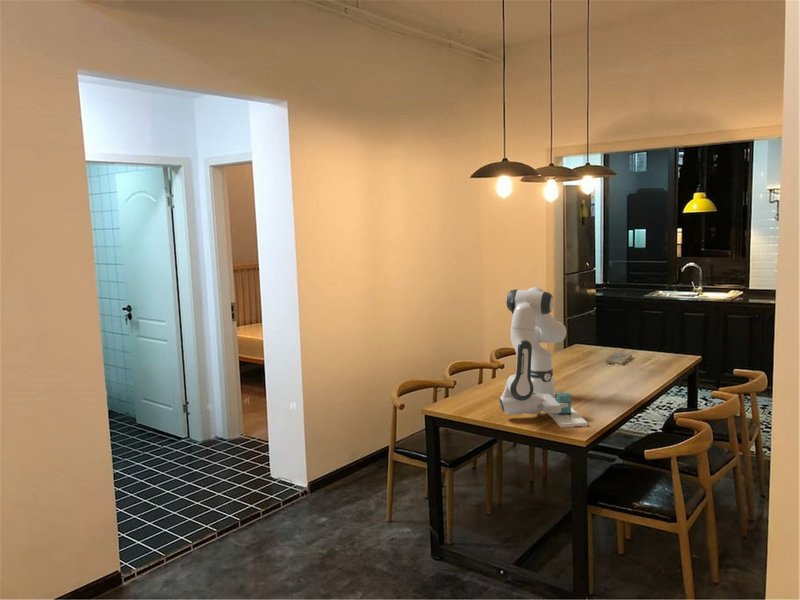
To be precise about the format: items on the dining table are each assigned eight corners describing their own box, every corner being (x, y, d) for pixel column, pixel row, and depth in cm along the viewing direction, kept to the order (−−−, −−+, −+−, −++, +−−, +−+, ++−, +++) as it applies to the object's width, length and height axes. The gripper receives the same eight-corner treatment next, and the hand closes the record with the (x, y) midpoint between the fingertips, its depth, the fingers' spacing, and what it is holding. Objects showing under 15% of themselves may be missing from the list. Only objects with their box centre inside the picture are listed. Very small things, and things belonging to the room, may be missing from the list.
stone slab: (633, 352, 414) (623, 359, 389) (633, 358, 415) (623, 366, 389) (614, 350, 421) (603, 358, 395) (614, 357, 421) (603, 364, 396)
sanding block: (556, 411, 294) (556, 392, 293) (568, 411, 294) (568, 392, 293) (559, 415, 288) (559, 395, 287) (571, 414, 289) (571, 395, 288)
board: (546, 411, 300) (546, 408, 300) (571, 410, 300) (571, 407, 300) (560, 427, 276) (560, 424, 276) (587, 426, 276) (587, 422, 276)
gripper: (541, 403, 280) (572, 402, 280) (530, 391, 300) (559, 390, 300) (541, 417, 280) (572, 416, 281) (530, 404, 301) (559, 403, 301)
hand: (565, 402), depth 291 cm, fingers closed on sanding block, 5 cm apart
